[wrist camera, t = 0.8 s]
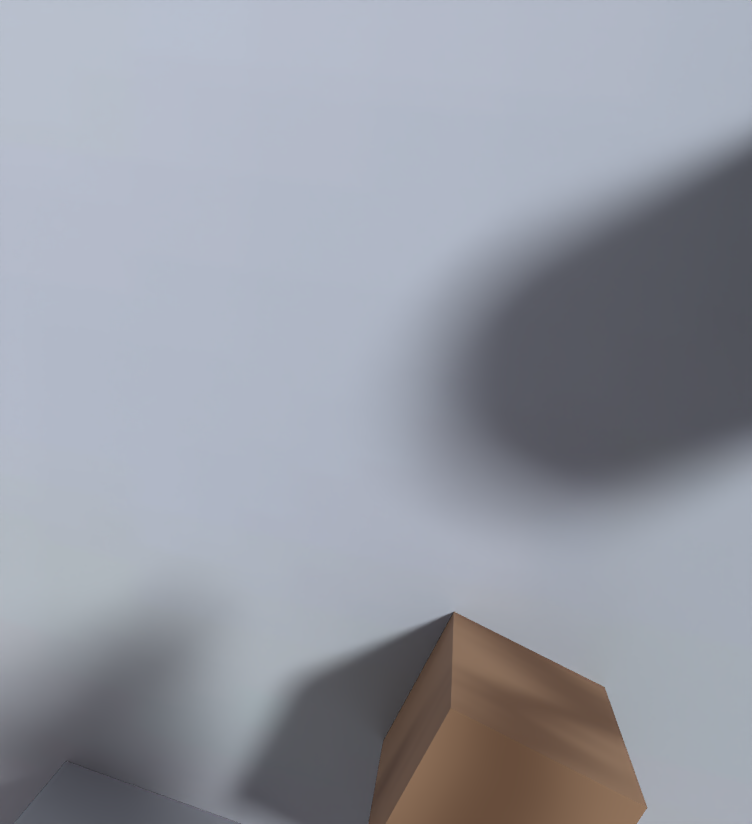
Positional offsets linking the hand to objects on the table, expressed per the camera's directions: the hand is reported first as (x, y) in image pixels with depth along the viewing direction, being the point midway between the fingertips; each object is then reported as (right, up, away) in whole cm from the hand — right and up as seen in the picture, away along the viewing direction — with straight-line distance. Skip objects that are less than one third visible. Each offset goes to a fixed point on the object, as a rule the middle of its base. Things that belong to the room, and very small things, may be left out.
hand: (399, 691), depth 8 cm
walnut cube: (+3, -6, +14) cm, 15 cm away
